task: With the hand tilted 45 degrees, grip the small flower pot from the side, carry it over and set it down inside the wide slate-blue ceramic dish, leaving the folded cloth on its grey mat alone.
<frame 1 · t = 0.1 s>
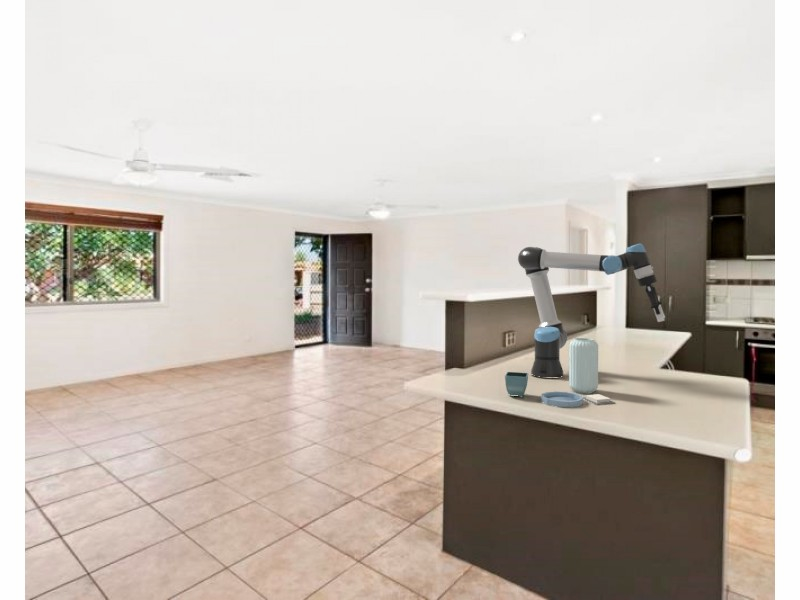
hand: (661, 319, 219), 28 cm above the worktop, tool tilted 20°, fingers open, 13 cm apart
vase: (583, 391, 202), on the worktop
mat with cloth: (597, 400, 186), on the worktop
dish: (561, 401, 186), on the worktop
flower pot: (516, 396, 197), on the worktop
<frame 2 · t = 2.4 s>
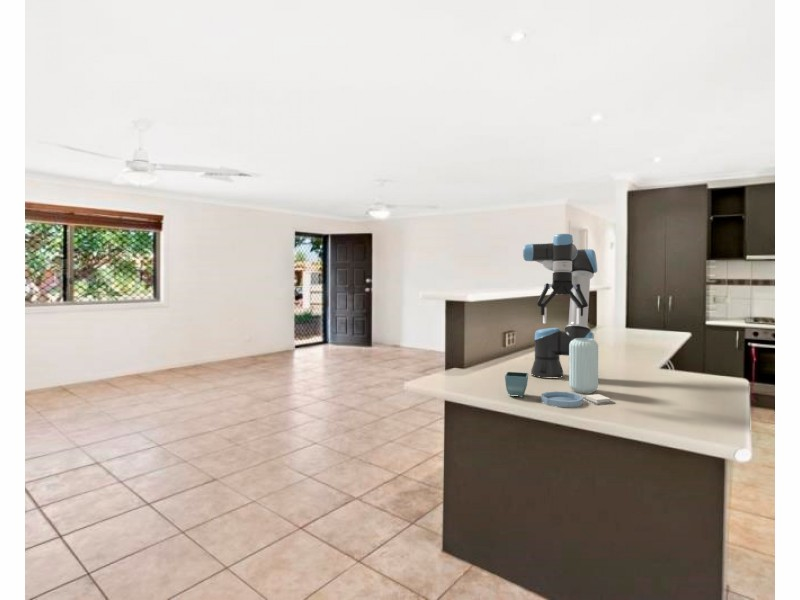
hand: (561, 324, 194), 30 cm above the worktop, tool pointing down, fingers open, 13 cm apart
nothing on the worktop moved.
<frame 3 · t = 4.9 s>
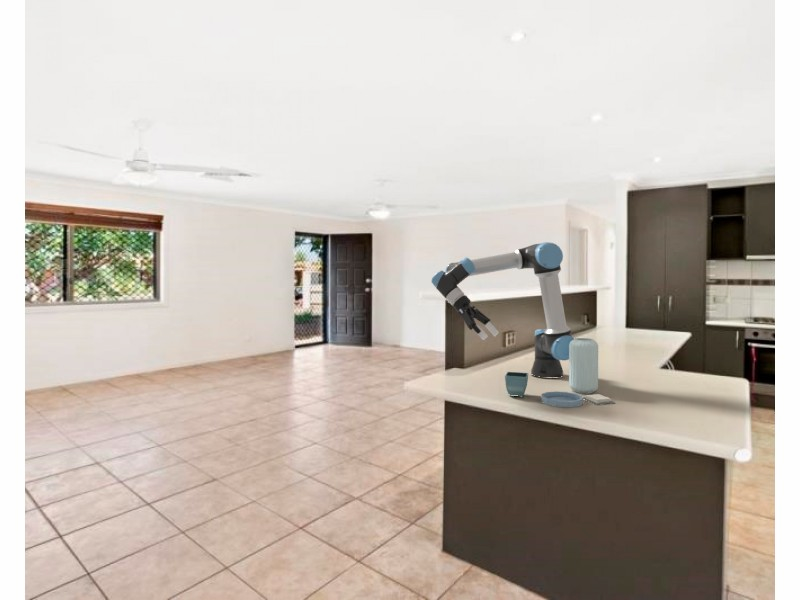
hand: (491, 336, 201), 24 cm above the worktop, tool tilted 45°, fingers open, 13 cm apart
nothing on the worktop moved.
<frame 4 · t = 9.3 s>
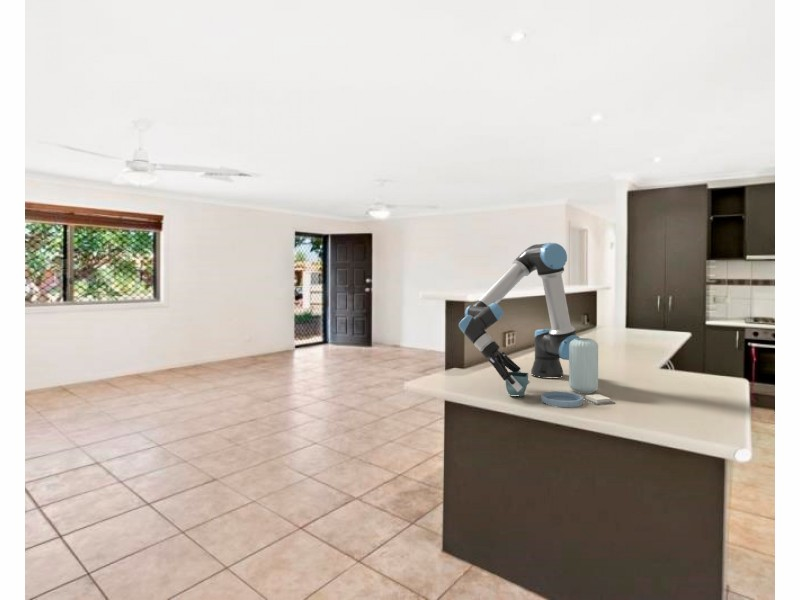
hand: (524, 386, 195), 4 cm above the worktop, tool tilted 45°, fingers closed on flower pot, 10 cm apart
flower pot: (516, 396, 197), on the worktop, touching gripper
everything else where it was.
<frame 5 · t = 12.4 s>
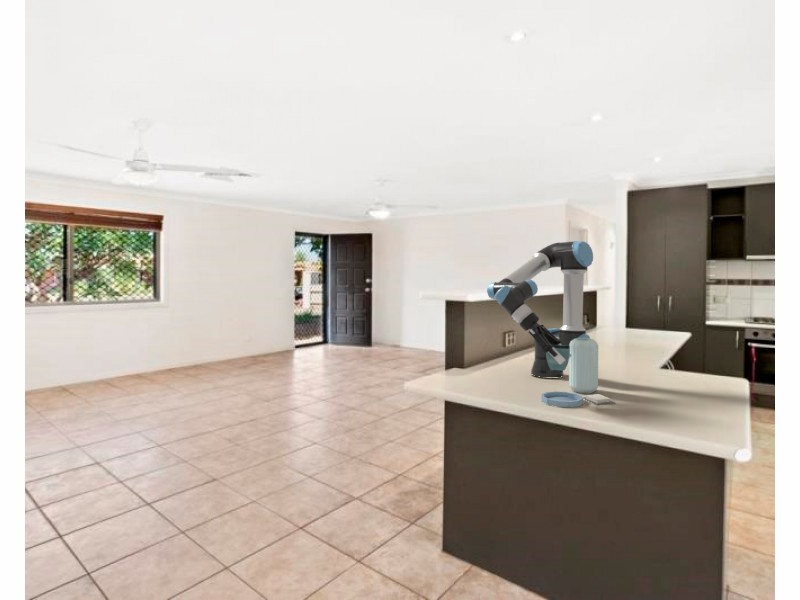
hand: (566, 360, 184), 17 cm above the worktop, tool tilted 45°, fingers closed on flower pot, 10 cm apart
flower pot: (558, 369, 186), point 13 cm above the worktop, touching gripper
everything else where it was.
when the fingers open (6 cm above the worktop, at t = 15.1 s): flower pot drops 2 cm, resting on dish.
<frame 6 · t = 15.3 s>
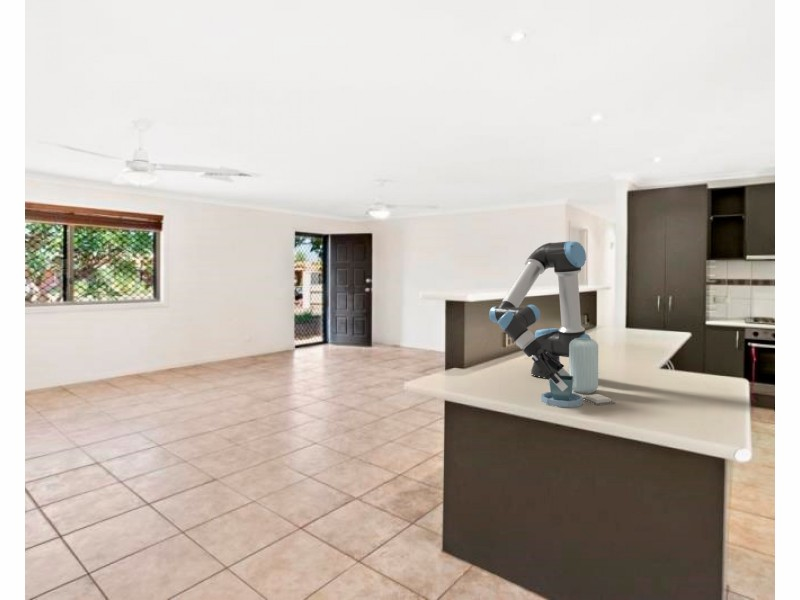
hand: (568, 385, 184), 7 cm above the worktop, tool tilted 45°, fingers open, 12 cm apart
flower pot: (561, 400, 186), resting on dish
everything else where it was.
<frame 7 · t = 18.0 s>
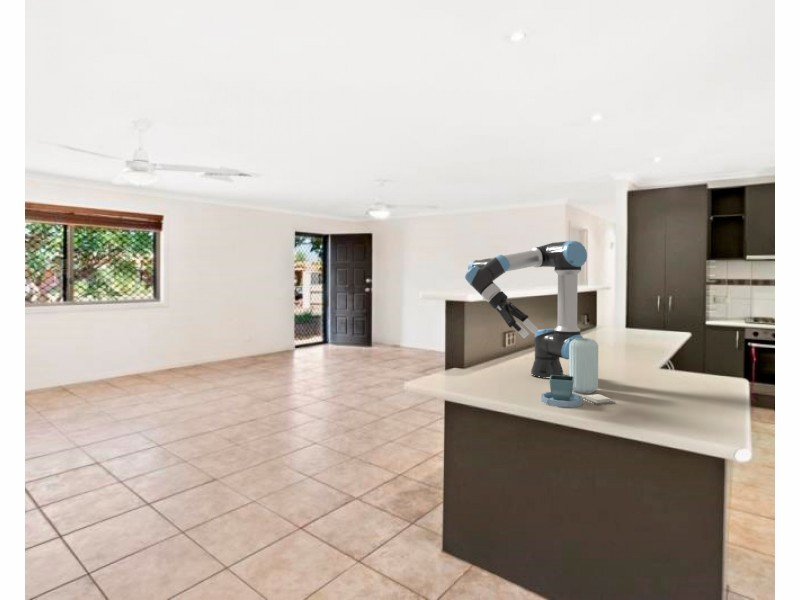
hand: (531, 334, 191), 26 cm above the worktop, tool tilted 45°, fingers open, 13 cm apart
nothing on the worktop moved.
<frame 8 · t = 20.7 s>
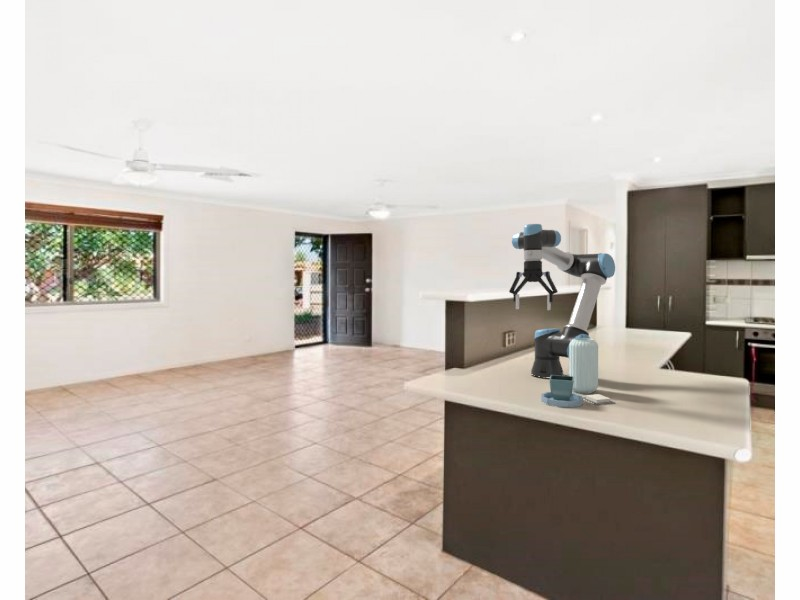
hand: (532, 309, 205), 35 cm above the worktop, tool pointing down, fingers open, 13 cm apart
nothing on the worktop moved.
at the end: flower pot 0.1 cm from the dish (horizontally); flower pot tilted 0°; the gripper is holding nothing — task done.
